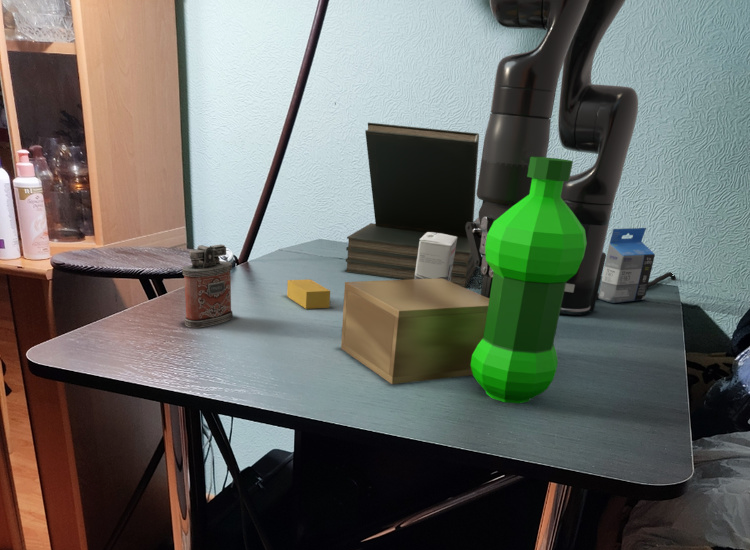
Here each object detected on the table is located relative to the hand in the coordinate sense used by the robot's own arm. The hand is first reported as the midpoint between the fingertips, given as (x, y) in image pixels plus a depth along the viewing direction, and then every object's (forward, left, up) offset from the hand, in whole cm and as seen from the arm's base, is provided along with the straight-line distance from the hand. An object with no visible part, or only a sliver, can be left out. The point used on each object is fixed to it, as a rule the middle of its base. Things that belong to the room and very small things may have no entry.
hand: (489, 305), depth 94 cm
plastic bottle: (+6, +14, -7) cm, 17 cm away
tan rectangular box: (+11, 0, -7) cm, 12 cm away
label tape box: (-46, -21, -7) cm, 51 cm away
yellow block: (+13, -30, -7) cm, 33 cm away
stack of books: (-18, -49, -7) cm, 52 cm away
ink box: (-2, -18, -7) cm, 19 cm away
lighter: (+31, -23, -7) cm, 39 cm away
